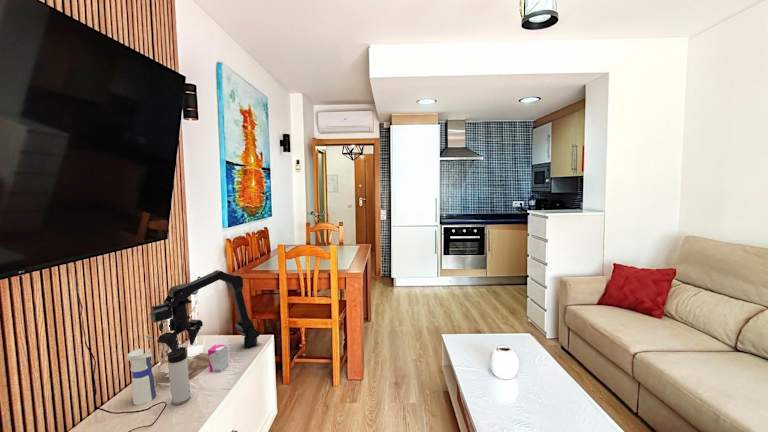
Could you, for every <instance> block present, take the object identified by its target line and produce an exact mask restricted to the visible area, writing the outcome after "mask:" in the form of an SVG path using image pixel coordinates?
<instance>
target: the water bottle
mask: <svg viewBox="0 0 768 432" xmlns="http://www.w3.org/2000/svg"><path fill="white" fill-rule="evenodd" d="M145 337H146V338H147V342H149V341H150V342H152V338H153V336H151V335H150V334H149V333H148V334H147V335H145ZM152 356H153V354H152V348H151V347H149V349H148V351H146V352H145V353H144V350H143V348H136V349H134V350H131V351H130V352H129V353H127V355H126V358H125V360H126V361H127V362H129V361H130V362H131V367H130V371H131V373H132V377H131V388H132V389H131V390H132V404H134V405H135V406H137V405H144V404H147V403H149V402H152V401H153V400H154V399H156V397H157V395H158V394H157V389H156V384H155V377H154V372H153V370H152V369H153V363H152V361H151V358H150V357H152Z"/></svg>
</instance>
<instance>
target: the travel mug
mask: <svg viewBox="0 0 768 432" xmlns="http://www.w3.org/2000/svg"><path fill="white" fill-rule="evenodd" d="M187 359H188V357H187V348H186V347H184V346H181V347H179V348H178V347H177V349H175V350H173V351H171V350H170V351H169V352H168V353H167V365H168V373H169V377H170V378H169V385H170V394H171V395H170V396H171V404H173V405H175V406H180V405H183V404H185V403H187V402H189V400H190V399H191V398H192V397H191V389H190V388H191V387H190V380H189V376H188V365H187Z"/></svg>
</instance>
